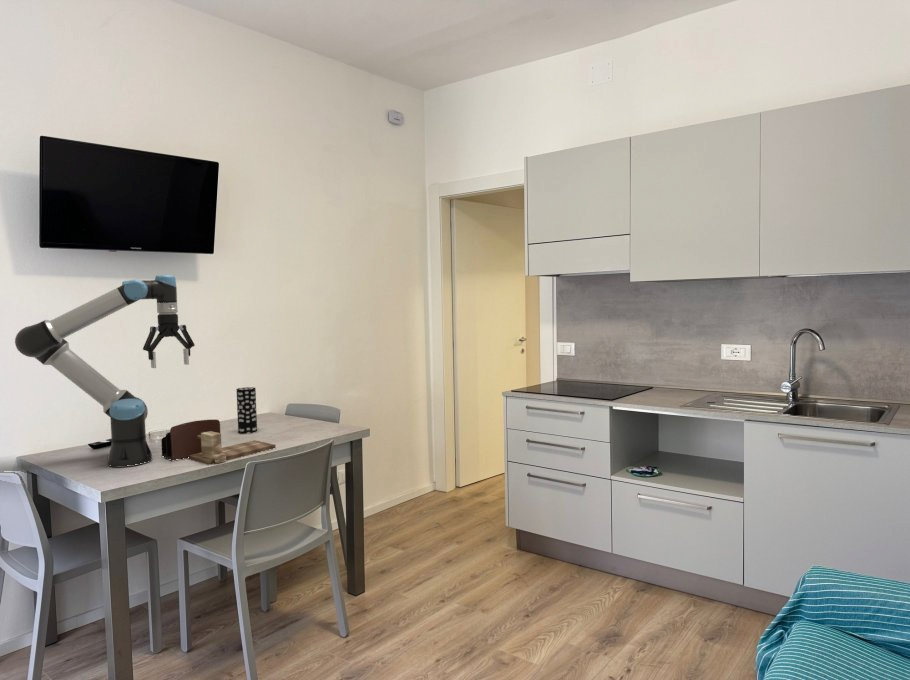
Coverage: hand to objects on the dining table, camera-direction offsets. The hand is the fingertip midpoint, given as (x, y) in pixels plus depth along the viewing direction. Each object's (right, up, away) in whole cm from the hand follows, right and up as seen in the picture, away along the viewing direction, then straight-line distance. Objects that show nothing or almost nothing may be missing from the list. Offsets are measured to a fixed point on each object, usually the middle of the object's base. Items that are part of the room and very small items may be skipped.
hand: (170, 366), depth 261 cm
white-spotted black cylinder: (+20, -32, +36) cm, 52 cm away
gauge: (+22, -35, -14) cm, 43 cm away
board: (+27, -35, -5) cm, 44 cm away
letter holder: (+11, -35, -5) cm, 37 cm away
